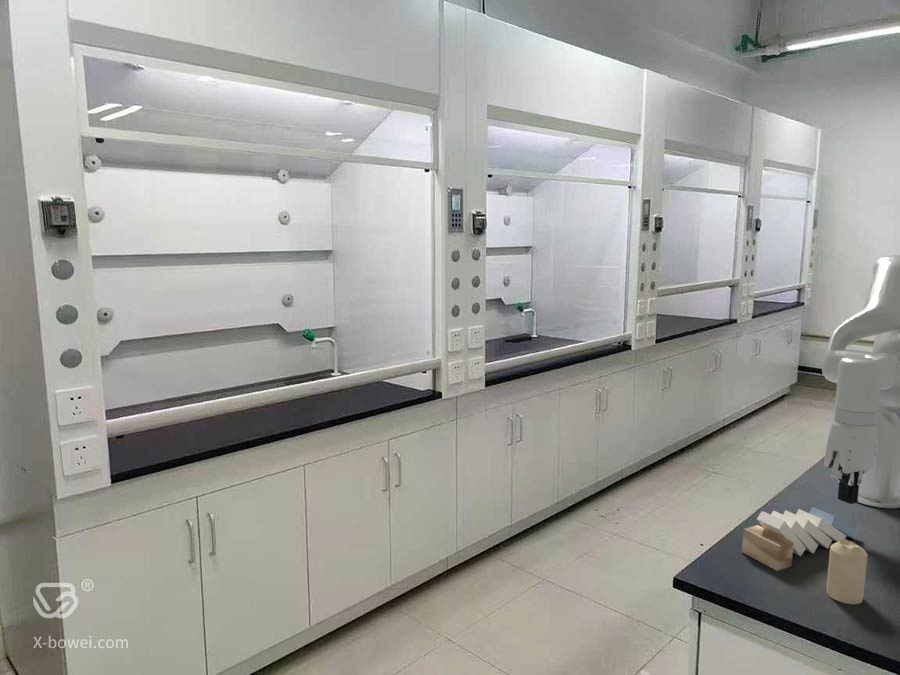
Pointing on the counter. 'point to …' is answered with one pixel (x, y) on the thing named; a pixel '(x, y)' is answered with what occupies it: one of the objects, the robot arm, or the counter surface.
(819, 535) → the domino
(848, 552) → the candle
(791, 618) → the counter surface
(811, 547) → the domino
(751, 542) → the end block
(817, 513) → the domino
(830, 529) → the domino
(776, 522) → the domino
